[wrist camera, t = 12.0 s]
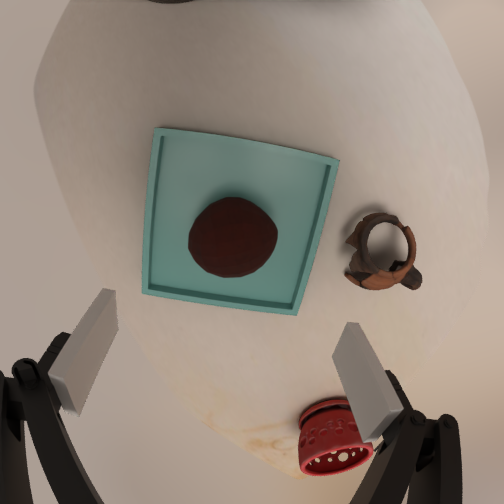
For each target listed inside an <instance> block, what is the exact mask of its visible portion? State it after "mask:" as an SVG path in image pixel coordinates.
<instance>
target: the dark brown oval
mask: <svg viewBox="0 0 504 504" xmlns="http://www.w3.org/2000/svg"><path fill="white" fill-rule="evenodd" d="M277 239H278V229H277V227H276V225H275V223H274V221H273V220H272V219H271V218H270V217H269V215H268V214H267V213H266V212H264V211H263V210H262V209H261V208H260V207H258V206H257V205H255V204H254V203H253V202H251V201H248V200H246V199H243V198H241V197H225V198H223V199H220V200H218V201H216V202H213V203H211V204H209V205H208V206H207V207H206V208H205V209H204V210H203V211H202V212H201V213H200V214H199V216H198V217H197V218H196V219H195V221H194V223H193V225H192V227H191V229H190V231H189V236H188V250H189V252H190V254H191V256H192V257H193V259H194V261H195V262H196V263H197V264H198V265H199V266H200V267H201V268H202V269H203V270H205V271H206V272H207V273H210V274H213V275H216V276H219V277H222V278H237V277H243V276H246V275H249V274H251V273H254V272H255V271H257V270H258V269H259V268H261V267H262V266H263V265H264V264H265V263H266V262H267V260H268V259H269V258H270V256H271V255H272V253H273V251H274V249H275V246H276V243H277Z"/></svg>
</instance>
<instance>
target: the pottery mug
mask: <svg viewBox="0 0 504 504" xmlns="http://www.w3.org/2000/svg"><path fill="white" fill-rule="evenodd" d="M383 222H387V223H391V224H393V225H396V226H398V227H399V228H400V229H401V230H402V232H403V233H404V235H405V237H406V239H407V243H408V257H407V260H406V261H397V260H395V261H394V262H393V264H392V266H391V267H390V268H389V271H385V270H382V269H380V268H378V267H377V266H376V265H375V264H374V263H373V261H372V260H371V258H370V255H369V253H368V247H367V241H368V237H369V234H370V231H371V230H372V229H373V227H375V226H376V225H377V224H379V223H383ZM346 243H349V244H351V245H352V246H354V247H355V248H356V249H357V251H356V252H355V253H354V254H353V256H352V260H351V262H350V264H349V266H350V269H351V271H352V272H354V271H359V272H366V273H372V274H371V275H370V276H369V277H367V278H365V279H363V280H362V281H359V280H356V279H355V278H353V277H352V276H351V275H350V274H347V273H345V274H344V275H345V277H346V278H347V279H349V280H350V281H351V282H352V283H354V284H355V285H358V286H360V287H362V288H364V289H369V290H381V289H387V288H390V287H392V286H393V285H394V284H397V283H401V284H402V285H404V286H405V287H407V288H409V289H411V290H416V289H418V288H419V287H420V286H421V283H422V275H421V273H420V272H419V271H418V270H417V269H416V268H415V267H414V265H413V263H414V261H415V257H416V242H415V238H414V235H413V233H412V231H411V229H410V228H409V227H408V226H405V227H404V226H403V225H402V224H401V223H400V222H399V220H398V218H397V217H396V216H394V215H388V214H386V213H374V214H370V215H368V216H366V217H364V218H363V221H360V222H359V223H358V224H357V226H356V228H355V230H354V232H353V233H352V235H351V236H350V237H349V238H348V239H347V240H346Z"/></svg>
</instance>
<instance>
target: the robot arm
mask: <svg viewBox="0 0 504 504" xmlns="http://www.w3.org/2000/svg"><path fill="white" fill-rule="evenodd" d="M150 1H154V2H160V3H180V2H187V1H192V0H150ZM117 331H118V320H117V308H116V292H115V290H110V289H105V288H103V289H102V290H101V292H100V293H99V295H98V296H97V297H96V299H95V300H94V302H93V303H92V305H91V306H90V307H89V309H88V310H87V312H86V313H85V315H84V316H83V317H82V319H81V320H80V322H79V324H78V325H77V326H76V328H75V330H74V331H73V333H72V334H69V333H65V332H62V333H60V334H59V335H57V336H56V337H55V338H54V340H53V341H52V342H51V344H50V346H49V347H48V348H47V351H46V352H45V353H44V355H43V356H42V358H41V359H40V361H39V362H38V364H37V362H35V361H34V360H33V359H29V358H23V359H20V360H18V361H17V362H15V363H14V365H13V367H12V374H13V376H14V378H9V377H5V376H4V374H3V373H2V371H0V504H33V499H32V494H31V489H30V482H29V475H28V468H27V459H26V449H25V435H24V434H25V433H24V421H27V424H28V427H29V431H30V434H31V437H32V440H33V443H34V446H35V449H36V451H37V454H38V457H39V460H40V462H41V465H42V467H43V470H44V472H45V475H46V477H47V480H48V482H49V484H50V486H51V489H52V491H53V493H54V495H55V497H56V499H57V501H58V503H59V504H104V502H103V501H102V499H101V498H100V496H99V494H98V493H97V491H96V489H95V487H94V486H93V484H92V482H91V480H90V479H89V477H88V475H87V473H86V471H85V469H84V468H83V465H82V463H81V461H80V459H79V457H78V455H77V453H76V451H75V449H74V447H73V445H72V442H71V440H70V438H69V435H68V433H67V431H66V428H65V426H64V424H63V421H62V418H61V416H60V414H59V410H60V407H61V405H62V407H63V409H64V412H66V413H68V414H71V415H74V416H77V417H79V416H80V414H81V411H82V409H83V406H84V404H85V402H86V399H87V397H88V395H89V392H90V390H91V388H92V385H93V383H94V381H95V378H96V376H97V374H98V371H99V370H100V367H101V365H102V363H103V361H104V359H105V357H106V354H107V352H108V350H109V348H110V346H111V344H112V342H113V340H114V337H115V335H116V334H117ZM332 358H333V361H334V364H335V366H336V369H337V372H338V374H339V377H340V380H341V382H342V385H343V388H344V390H345V393H346V396H347V399H348V401H349V404H350V407H351V410H352V413H353V415H354V418H355V421H356V424H357V427H358V430H359V433H360V435H361V438H362V441H363V443H366V442H372V441H376V440H377V439H378V438H379V437H380V436H381V435H382V436H383V439H384V440H383V441H382V442H381V443H380V444H379V445H378V446H377V447H376V448H375V450H374V451H376V450H377V449H378V450H377V453H376V455H375V457H374V459H373V461H372V463H371V465H370V467H369V469H368V471H367V473H366V475H365V477H364V479H363V480H362V483H361V484H360V486H359V488H358V490H357V491H356V493H355V495H354V497H353V498H352V500H351V502H350V504H401V503H402V501H403V498H404V496H405V494H406V491H407V488H408V486H409V492H408V499H407V504H462V461H461V447H460V437H459V429H458V423H457V421H456V419H455V418H454V417H453V416H451V415H449V414H443V415H441V417H440V418H439V419H438V420H432V419H426V417H425V415H424V414H423V413H421V412H420V411H417V410H413V408H412V406H411V405H410V402H409V400H408V398H407V397H406V395H405V393H404V391H403V390H402V387H401V385H399V384H400V383H399V382H398V380H397V378H396V376H395V375H394V374H393V373H392V372H391V371H390V370H384V369H383V367H382V365H381V363H380V361H379V359H378V357H377V356H376V354H375V352H374V350H373V348H372V346H371V345H370V343H369V341H368V339H367V337H366V336H365V334H364V332H363V330H362V328H361V327H360V325H359V323H353V322H347V324H346V326H345V328H344V331H343V333H342V335H341V338H340V340H339V342H338V344H337V346H336V349H335V351H334V353H333V355H332Z"/></svg>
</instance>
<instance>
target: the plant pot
mask: <svg viewBox="0 0 504 504" xmlns="http://www.w3.org/2000/svg"><path fill="white" fill-rule="evenodd" d="M299 428H300V430H301V433H300V437H299V444H298V453H299V456H298V457H299V465H300V469H301V471H302V472H303V473H305V474H307V475H312V476H327V475H333V474H338V473H342V472H345V471H348V470H350V469H353V468H355V467H357V466H359V465H361V464H363V463H364V462H366V461H367V460H368V459H369V458H370V457H371V456H372V454H373V445H372V442H366V443H363V441H362V438H361V435H360V433H359V430H358V427H357V424H356V421H355V418H354V415H353V413H352V410H351V407H350V404H349V401H346V400H329V401H325V402H322V403H319V404H317V405H315V406H313V407H311V408H310V409H308V410H307V411H306V412H305V413H304V414H303V415H302V416H301V418H300V420H299ZM360 447H361V448H363V450H362V451H360ZM349 448H352V449H349ZM334 451H337V453H336V454H331V453H330V452H334ZM343 452H345V453H348V459H347V460H346V461H343V462H342V461H339V459H338V456H339V455H340V454H341V453H343ZM353 452H355V456H352V453H353ZM315 458H319V459H320V462H319V463H318V462H316V461H315ZM328 458H332V461H331V462H329V461H328ZM309 462H310V463H311V464H312V465H310V464H309Z"/></svg>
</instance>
